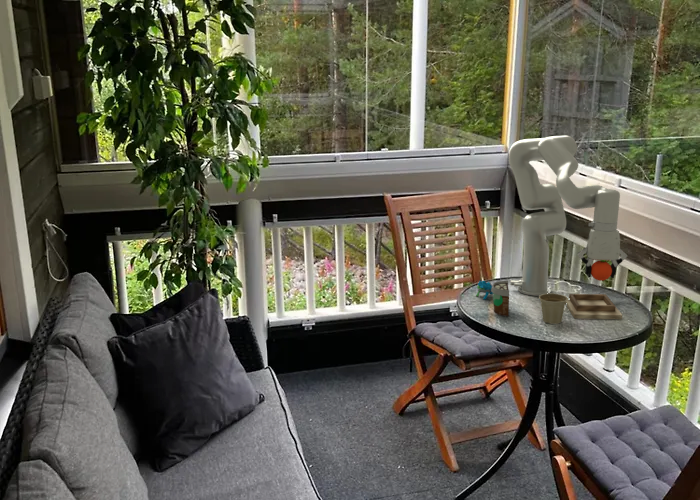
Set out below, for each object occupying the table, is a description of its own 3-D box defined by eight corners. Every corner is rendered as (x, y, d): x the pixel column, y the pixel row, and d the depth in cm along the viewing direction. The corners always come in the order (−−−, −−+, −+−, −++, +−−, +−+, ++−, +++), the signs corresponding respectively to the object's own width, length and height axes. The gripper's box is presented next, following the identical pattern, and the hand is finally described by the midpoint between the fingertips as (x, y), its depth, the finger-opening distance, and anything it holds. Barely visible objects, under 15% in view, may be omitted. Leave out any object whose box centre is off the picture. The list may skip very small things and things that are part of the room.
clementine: (594, 274, 220) (596, 255, 218) (615, 278, 215) (616, 259, 213) (586, 280, 214) (587, 261, 212) (606, 284, 209) (608, 264, 207)
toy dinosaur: (508, 294, 239) (493, 280, 234) (501, 307, 237) (486, 293, 233) (487, 291, 248) (472, 277, 243) (480, 304, 247) (465, 290, 242)
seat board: (574, 318, 217) (574, 308, 216) (562, 299, 236) (563, 290, 236) (622, 319, 215) (622, 309, 214) (606, 300, 234) (607, 291, 233)
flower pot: (532, 319, 218) (533, 295, 216) (553, 314, 221) (554, 291, 219) (550, 327, 210) (551, 303, 207) (572, 323, 213) (573, 299, 211)
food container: (490, 305, 233) (491, 279, 230) (507, 306, 232) (508, 280, 229) (490, 317, 221) (491, 290, 219) (508, 317, 220) (509, 290, 217)
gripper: (580, 228, 207) (575, 279, 212) (635, 229, 204) (629, 280, 209) (575, 223, 214) (571, 272, 219) (629, 224, 212) (623, 273, 217)
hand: (600, 276), depth 214 cm, fingers closed on clementine, 7 cm apart
